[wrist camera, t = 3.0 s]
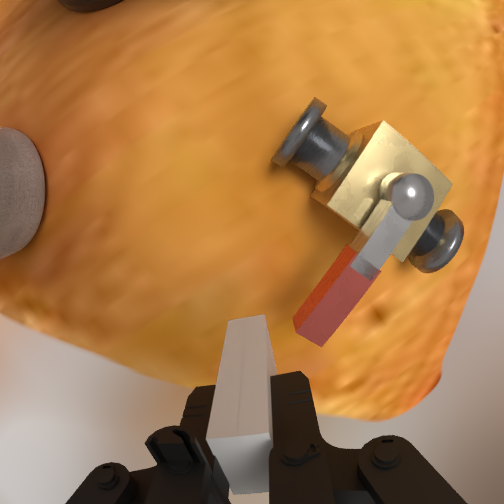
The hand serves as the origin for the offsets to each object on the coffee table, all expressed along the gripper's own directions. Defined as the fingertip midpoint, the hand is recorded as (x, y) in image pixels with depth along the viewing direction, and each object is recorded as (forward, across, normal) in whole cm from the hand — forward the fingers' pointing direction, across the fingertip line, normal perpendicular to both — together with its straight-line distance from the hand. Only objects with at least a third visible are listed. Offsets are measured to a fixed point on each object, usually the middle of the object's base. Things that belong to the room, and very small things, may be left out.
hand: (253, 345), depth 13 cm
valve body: (+19, +12, +4) cm, 23 cm away
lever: (+11, +8, 0) cm, 14 cm away
